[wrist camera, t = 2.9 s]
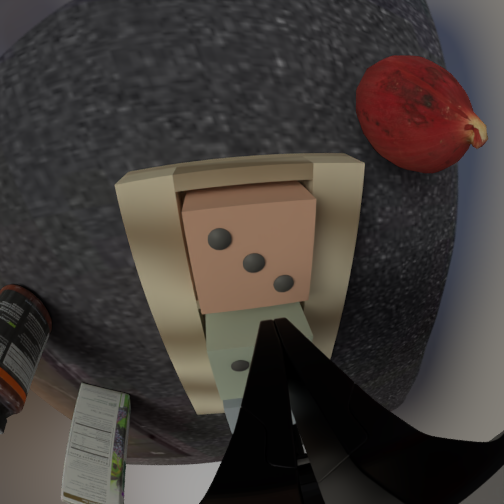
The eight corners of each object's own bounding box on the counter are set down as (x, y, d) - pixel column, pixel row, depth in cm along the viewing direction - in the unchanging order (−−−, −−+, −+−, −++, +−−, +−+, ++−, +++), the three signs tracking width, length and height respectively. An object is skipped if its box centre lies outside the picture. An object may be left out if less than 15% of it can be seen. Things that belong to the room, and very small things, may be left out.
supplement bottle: (15, 327, 17) (-25, 423, 8) (-6, 276, 14) (-67, 377, 5) (62, 338, 19) (28, 450, 9) (43, 285, 16) (-18, 411, 6)
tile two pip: (293, 355, 19) (303, 388, 17) (218, 365, 19) (221, 401, 16) (298, 299, 16) (313, 337, 14) (205, 311, 16) (206, 352, 13)
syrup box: (131, 413, 26) (127, 520, 14) (86, 402, 24) (73, 506, 12) (130, 393, 24) (122, 519, 11) (79, 380, 22) (58, 501, 10)
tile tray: (312, 378, 26) (318, 396, 24) (196, 394, 25) (197, 414, 22) (344, 153, 14) (364, 163, 12) (128, 171, 13) (114, 184, 11)
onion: (313, 123, 13) (408, 153, 6) (353, 42, 11) (458, 21, 4) (388, 168, 15) (482, 223, 8) (421, 96, 13) (522, 119, 6)
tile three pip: (293, 268, 17) (308, 301, 14) (201, 279, 16) (201, 315, 13) (296, 179, 14) (317, 199, 11) (187, 189, 13) (181, 212, 11)
